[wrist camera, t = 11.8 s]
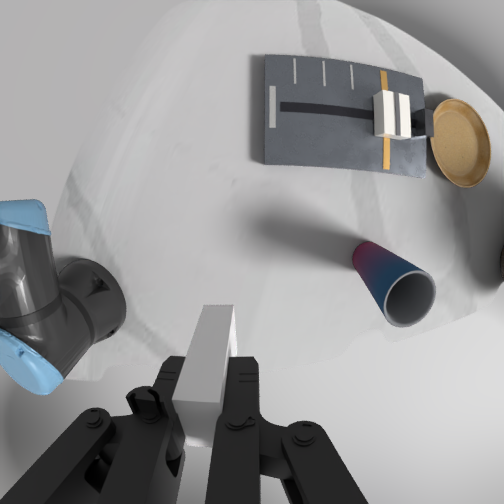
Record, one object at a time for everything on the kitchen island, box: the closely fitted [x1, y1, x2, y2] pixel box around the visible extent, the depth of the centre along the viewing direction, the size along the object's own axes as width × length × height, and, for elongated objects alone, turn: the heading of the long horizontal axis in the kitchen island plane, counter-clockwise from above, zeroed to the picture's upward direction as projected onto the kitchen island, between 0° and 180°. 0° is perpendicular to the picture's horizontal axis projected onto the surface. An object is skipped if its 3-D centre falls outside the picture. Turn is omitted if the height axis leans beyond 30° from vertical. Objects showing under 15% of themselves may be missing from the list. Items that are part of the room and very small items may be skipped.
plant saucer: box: [430, 99, 491, 188], centre depth 33 cm, size 15×15×3 cm
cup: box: [352, 242, 436, 327], centre depth 33 cm, size 7×7×15 cm
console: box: [265, 55, 434, 178], centre depth 32 cm, size 24×16×5 cm, turn 90°
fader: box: [373, 90, 411, 140], centre depth 30 cm, size 4×6×4 cm, turn 0°
